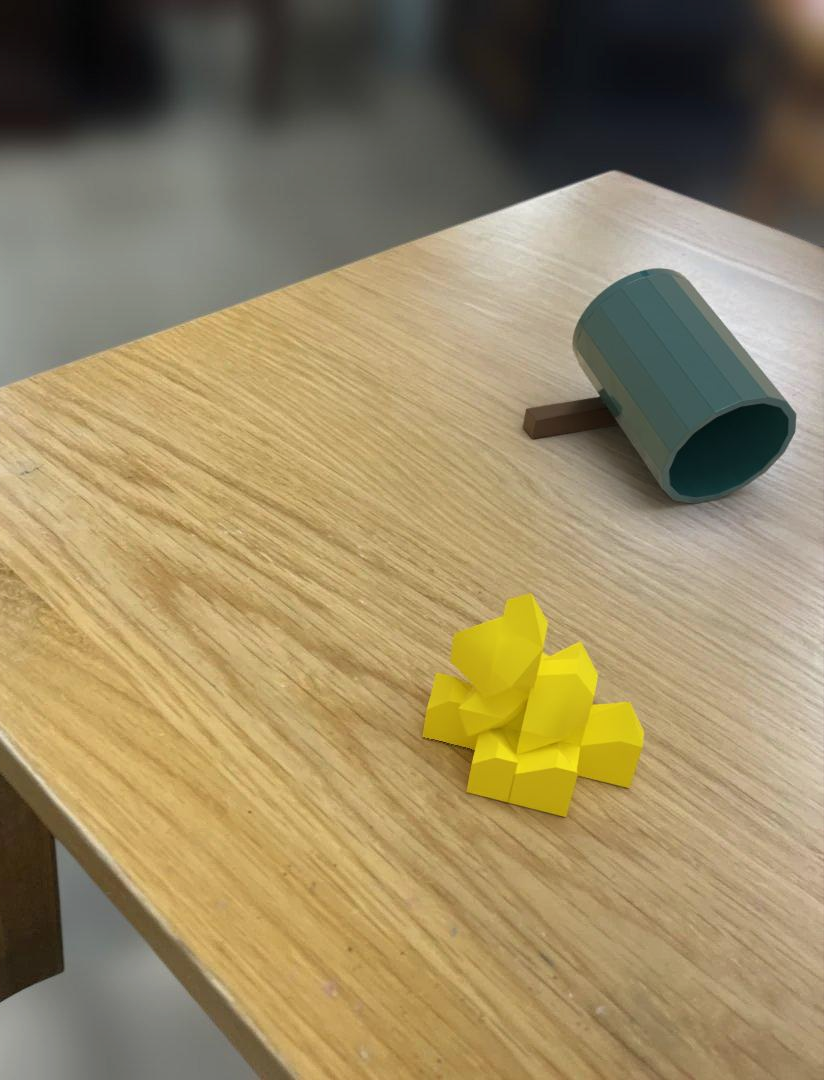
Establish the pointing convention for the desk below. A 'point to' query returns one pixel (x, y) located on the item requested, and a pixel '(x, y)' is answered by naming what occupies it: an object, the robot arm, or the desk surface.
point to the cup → (681, 386)
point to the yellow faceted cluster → (530, 714)
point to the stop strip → (567, 417)
